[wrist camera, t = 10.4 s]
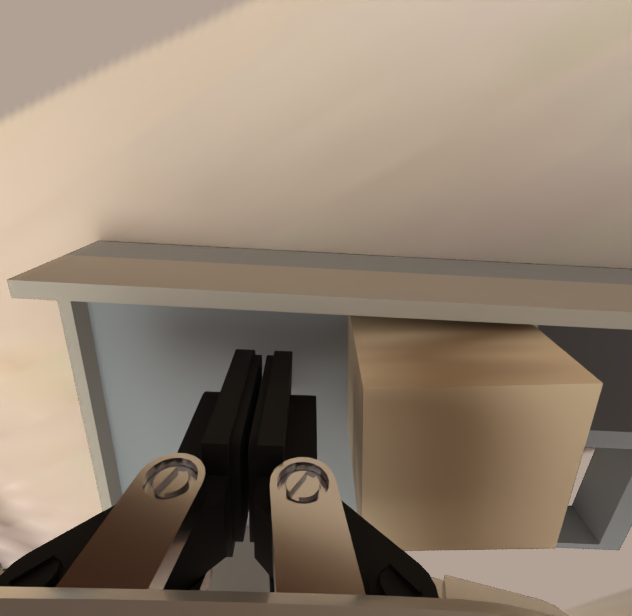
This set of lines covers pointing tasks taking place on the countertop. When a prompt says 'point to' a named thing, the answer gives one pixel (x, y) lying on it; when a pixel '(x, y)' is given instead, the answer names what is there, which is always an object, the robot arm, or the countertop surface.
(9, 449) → the countertop surface
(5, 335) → the countertop surface
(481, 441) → the block
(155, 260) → the pale blue tray
